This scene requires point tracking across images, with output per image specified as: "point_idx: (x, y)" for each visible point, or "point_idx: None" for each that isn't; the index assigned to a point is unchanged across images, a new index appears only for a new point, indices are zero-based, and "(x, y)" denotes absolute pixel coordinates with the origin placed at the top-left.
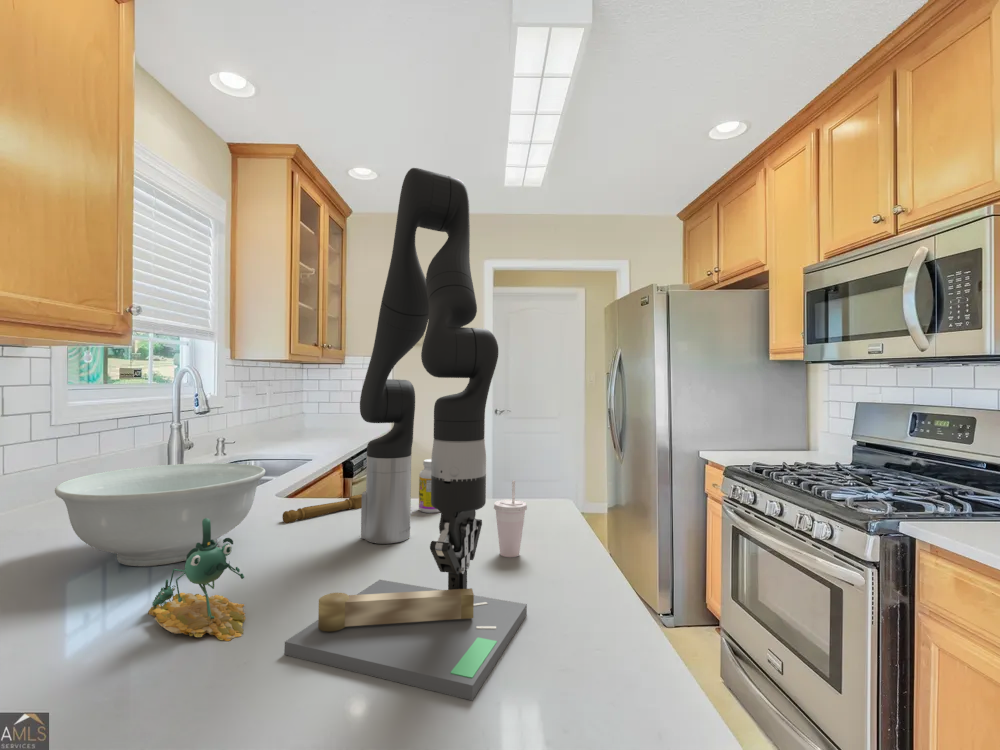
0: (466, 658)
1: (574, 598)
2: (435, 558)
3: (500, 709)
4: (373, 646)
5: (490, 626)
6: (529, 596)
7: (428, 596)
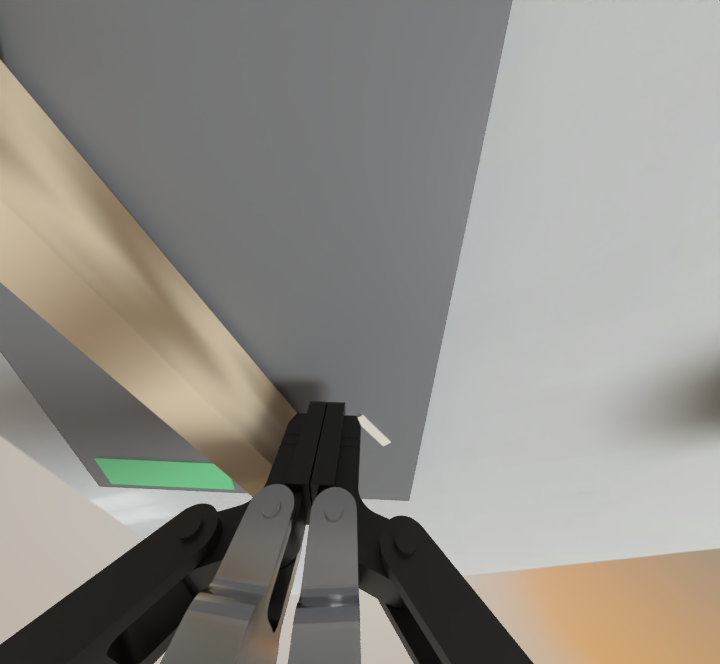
0: (148, 466)
1: (498, 523)
2: (7, 646)
3: (133, 490)
4: None
5: None
6: (499, 469)
7: (164, 416)
